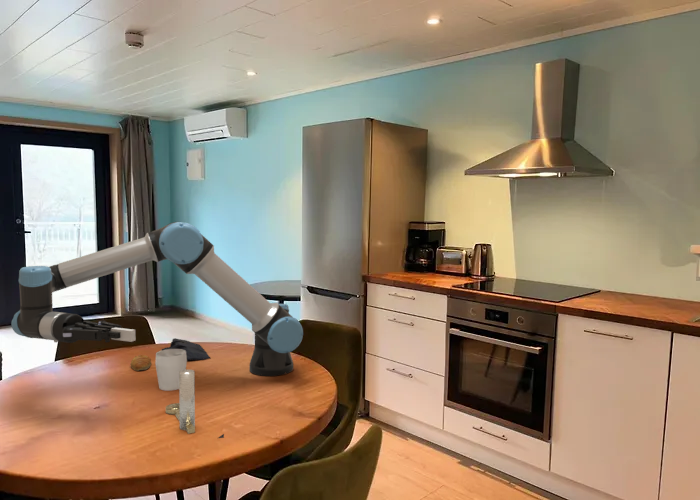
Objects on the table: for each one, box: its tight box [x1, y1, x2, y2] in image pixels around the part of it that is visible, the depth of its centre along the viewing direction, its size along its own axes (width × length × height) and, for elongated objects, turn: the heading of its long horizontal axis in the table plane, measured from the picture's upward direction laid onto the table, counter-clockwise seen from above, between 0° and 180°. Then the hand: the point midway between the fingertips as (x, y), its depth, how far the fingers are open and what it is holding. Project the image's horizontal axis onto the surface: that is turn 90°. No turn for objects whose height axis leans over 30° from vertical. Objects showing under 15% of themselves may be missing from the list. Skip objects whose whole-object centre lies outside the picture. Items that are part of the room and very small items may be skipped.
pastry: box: [130, 354, 152, 372], centre depth 180 cm, size 9×7×4 cm
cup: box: [154, 349, 188, 392], centre depth 156 cm, size 9×9×12 cm
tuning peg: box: [165, 369, 196, 435], centre depth 132 cm, size 18×5×14 cm, turn 32°
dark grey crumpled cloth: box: [161, 338, 211, 361], centre depth 197 cm, size 15×22×5 cm
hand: (133, 335), depth 128 cm, fingers closed
